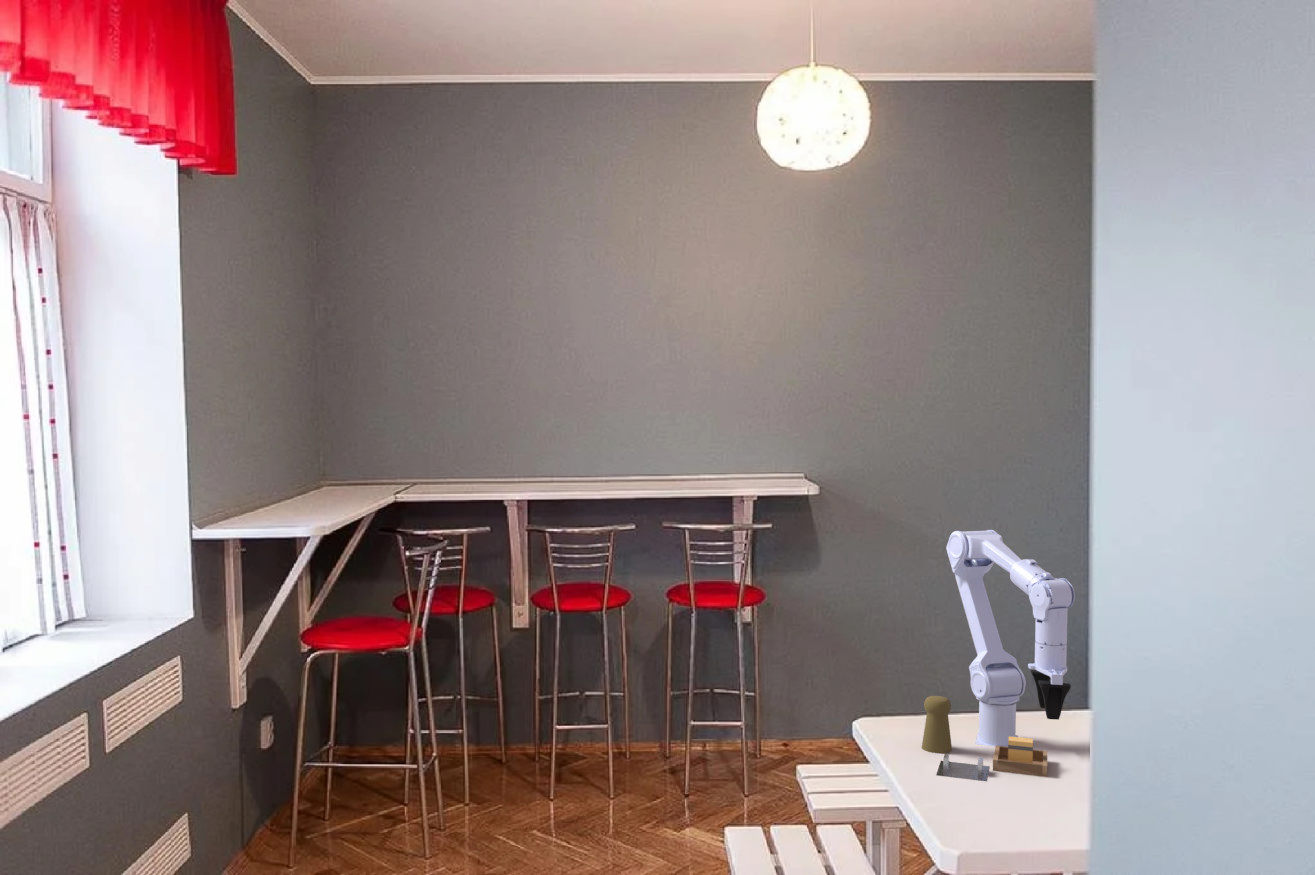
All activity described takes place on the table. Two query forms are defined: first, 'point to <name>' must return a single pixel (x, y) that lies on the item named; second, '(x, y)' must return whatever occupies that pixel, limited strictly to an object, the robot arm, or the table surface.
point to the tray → (1020, 763)
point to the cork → (937, 725)
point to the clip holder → (963, 769)
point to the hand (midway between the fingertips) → (1049, 713)
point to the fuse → (1020, 749)
